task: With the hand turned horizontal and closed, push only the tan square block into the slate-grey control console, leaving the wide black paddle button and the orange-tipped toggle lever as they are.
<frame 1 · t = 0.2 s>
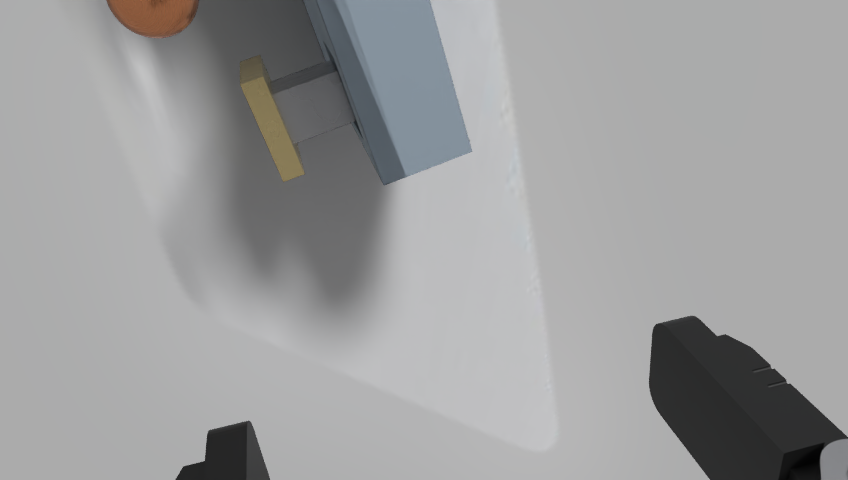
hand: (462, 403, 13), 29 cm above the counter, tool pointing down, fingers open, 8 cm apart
tan square block: (302, 105, 31), point 8 cm above the counter, slide at 0.0 cm
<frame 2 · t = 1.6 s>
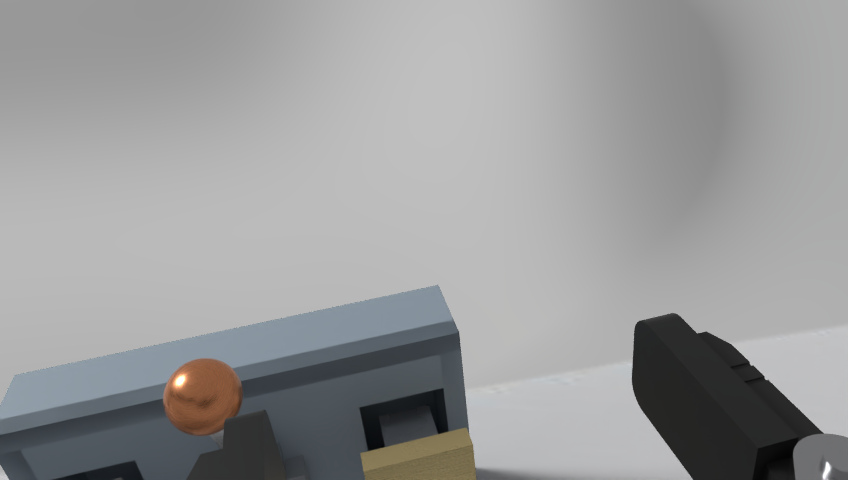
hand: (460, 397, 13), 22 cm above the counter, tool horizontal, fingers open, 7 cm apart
lever: (231, 435, 26), point 13 cm above the counter, hinge at 25.0°
tan square block: (415, 460, 30), point 8 cm above the counter, slide at 0.0 cm
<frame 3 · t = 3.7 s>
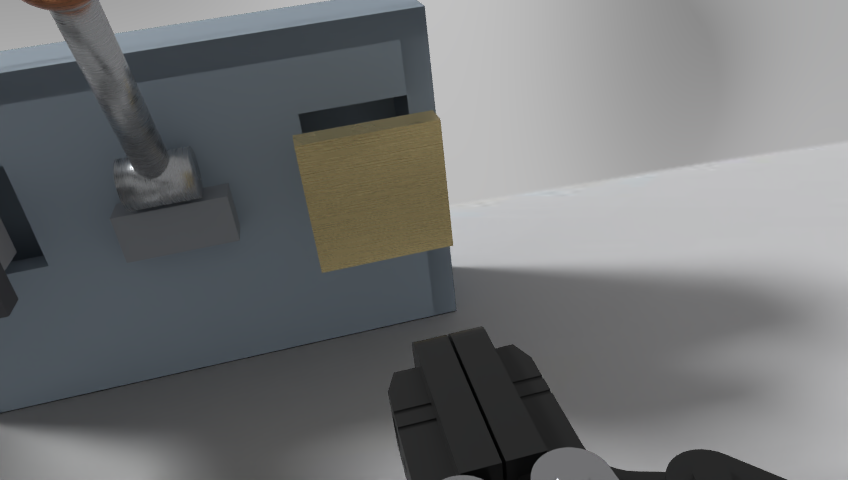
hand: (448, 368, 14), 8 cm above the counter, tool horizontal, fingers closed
lever: (111, 80, 19), point 13 cm above the counter, hinge at 25.0°
console: (229, 333, 30), on the counter
tan square block: (369, 175, 24), point 8 cm above the counter, slide at 0.0 cm
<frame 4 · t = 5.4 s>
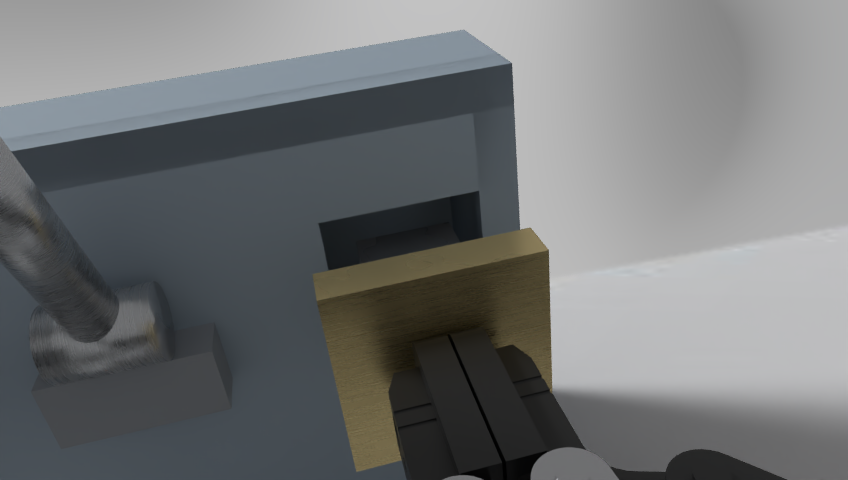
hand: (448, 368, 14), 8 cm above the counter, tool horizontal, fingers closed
lever: (6, 210, 11), point 13 cm above the counter, hinge at 25.0°
tan square block: (425, 314, 16), point 8 cm above the counter, slide at 0.2 cm, touching gripper
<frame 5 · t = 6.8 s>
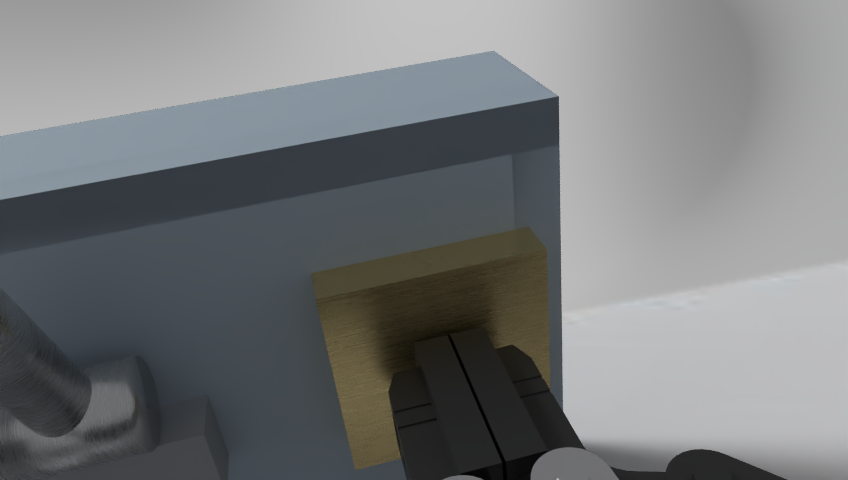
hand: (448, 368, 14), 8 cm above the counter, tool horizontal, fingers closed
tan square block: (424, 313, 16), point 8 cm above the counter, slide at 3.0 cm, touching console
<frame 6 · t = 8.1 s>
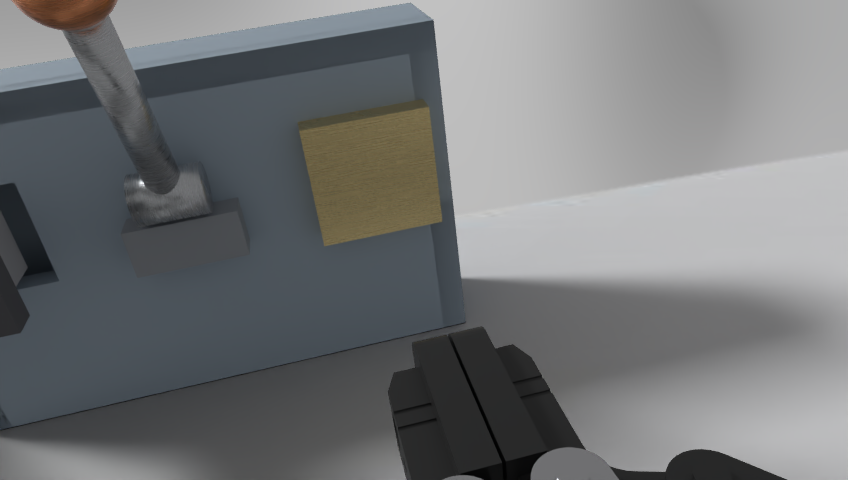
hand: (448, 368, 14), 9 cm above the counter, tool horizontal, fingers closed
lever: (122, 97, 19), point 13 cm above the counter, hinge at 25.0°
console: (238, 346, 30), on the counter
tan square block: (367, 159, 26), point 8 cm above the counter, slide at 3.0 cm, touching console
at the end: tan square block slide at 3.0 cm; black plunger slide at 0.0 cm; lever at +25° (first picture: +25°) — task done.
